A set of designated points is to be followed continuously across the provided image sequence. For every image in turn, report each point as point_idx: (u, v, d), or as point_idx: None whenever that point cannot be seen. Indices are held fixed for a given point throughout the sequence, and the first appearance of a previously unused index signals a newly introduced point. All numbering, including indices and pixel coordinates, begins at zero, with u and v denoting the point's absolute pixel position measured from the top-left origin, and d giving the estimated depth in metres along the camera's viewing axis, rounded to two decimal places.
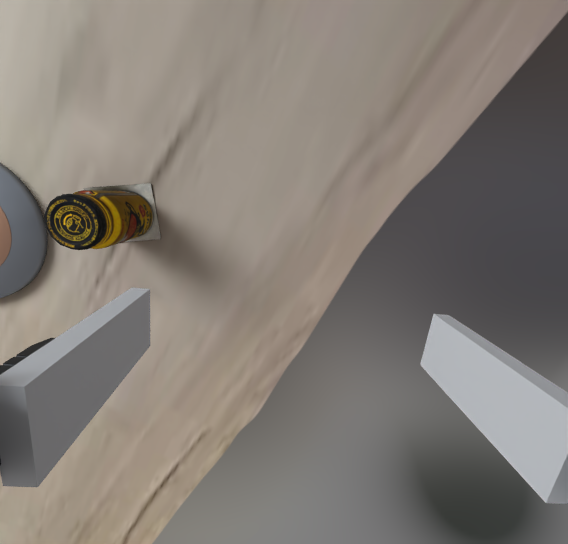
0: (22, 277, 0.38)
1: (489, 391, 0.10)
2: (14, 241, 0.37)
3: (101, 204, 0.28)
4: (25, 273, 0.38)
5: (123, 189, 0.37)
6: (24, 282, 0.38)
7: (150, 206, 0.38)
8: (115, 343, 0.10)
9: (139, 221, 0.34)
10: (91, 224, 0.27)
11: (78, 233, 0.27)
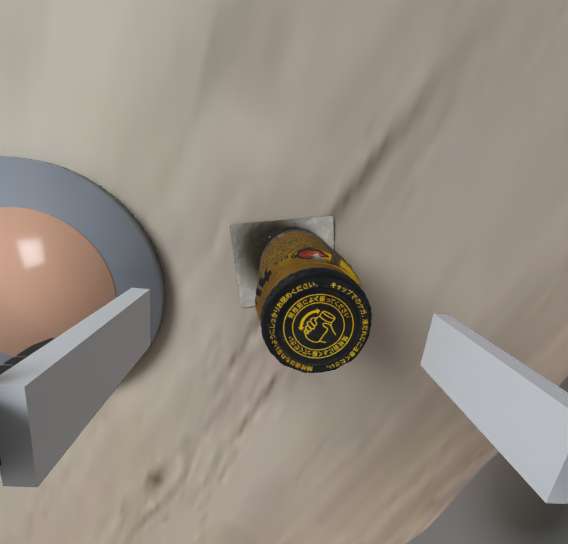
0: None
1: (489, 391, 0.10)
2: None
3: (354, 281, 0.14)
4: None
5: (289, 225, 0.23)
6: None
7: None
8: (115, 343, 0.10)
9: None
10: (354, 328, 0.13)
11: (324, 344, 0.13)
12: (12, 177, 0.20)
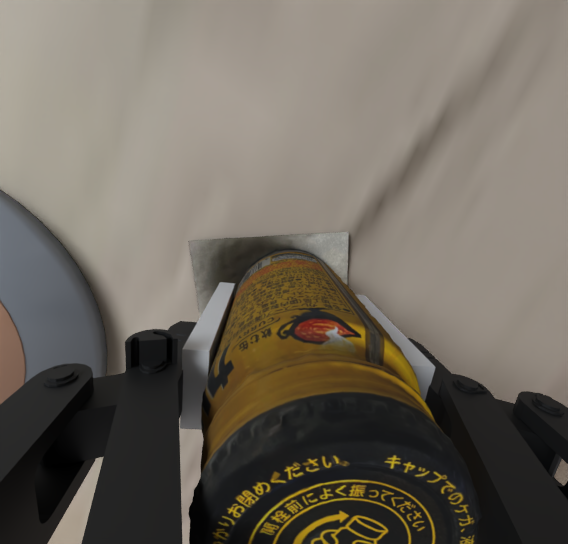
0: None
1: None
2: (33, 375, 0.15)
3: (423, 404, 0.06)
4: None
5: (281, 244, 0.15)
6: None
7: None
8: None
9: None
10: None
11: None
12: None
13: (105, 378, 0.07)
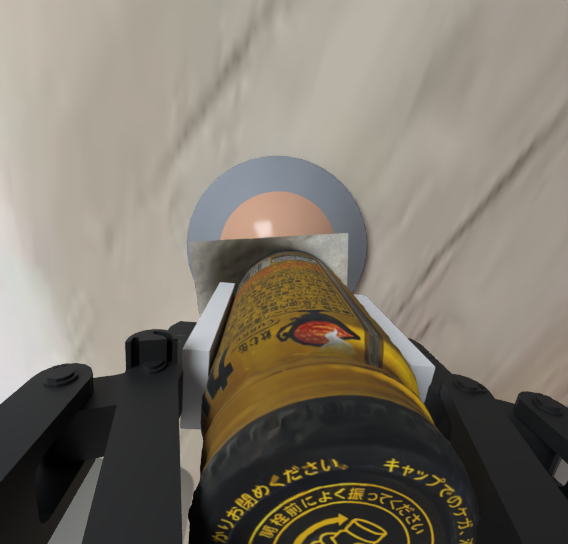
0: None
1: None
2: None
3: (422, 406, 0.06)
4: None
5: (281, 245, 0.15)
6: None
7: None
8: None
9: None
10: None
11: None
12: (284, 170, 0.29)
13: (105, 378, 0.07)
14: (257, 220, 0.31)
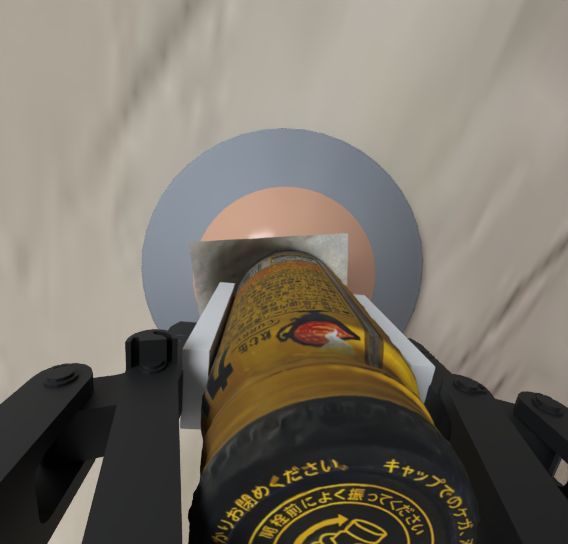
0: None
1: None
2: (375, 303, 0.21)
3: (422, 407, 0.06)
4: None
5: (281, 246, 0.15)
6: None
7: None
8: None
9: None
10: None
11: None
12: (295, 153, 0.18)
13: (105, 378, 0.07)
14: (252, 232, 0.19)
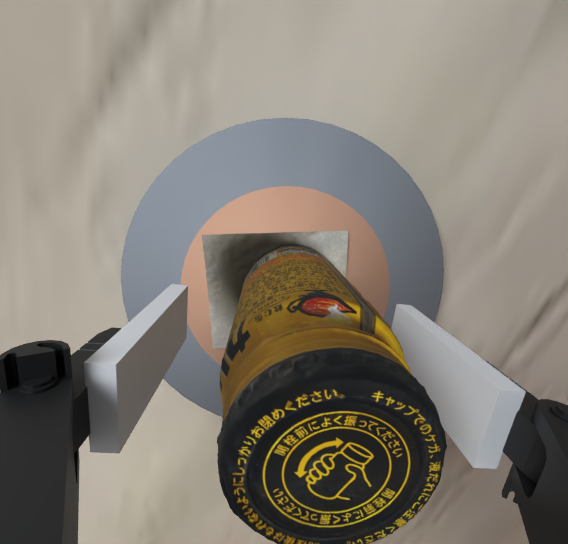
0: None
1: (436, 372, 0.11)
2: (388, 318, 0.19)
3: (406, 366, 0.07)
4: None
5: (286, 240, 0.17)
6: None
7: None
8: (166, 333, 0.11)
9: None
10: (410, 476, 0.06)
11: (345, 503, 0.06)
12: (298, 147, 0.16)
13: None
14: None
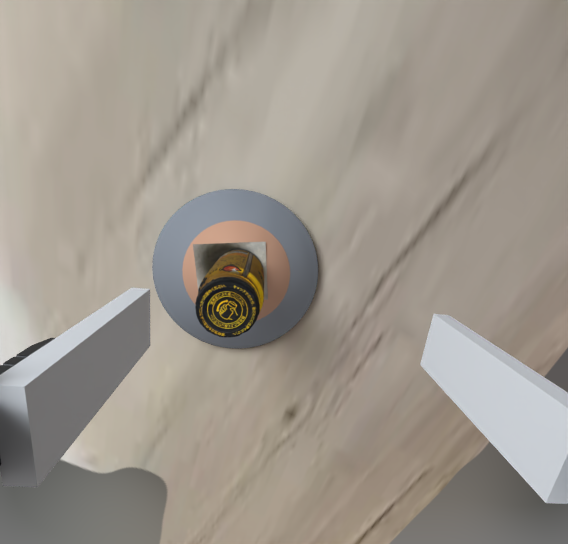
0: (290, 322, 0.37)
1: (489, 391, 0.10)
2: (291, 287, 0.35)
3: (253, 285, 0.24)
4: (294, 318, 0.37)
5: (235, 246, 0.34)
6: (291, 327, 0.37)
7: (262, 265, 0.34)
8: (115, 343, 0.10)
9: None
10: (248, 311, 0.23)
11: (231, 320, 0.23)
12: (239, 202, 0.33)
13: None
14: None
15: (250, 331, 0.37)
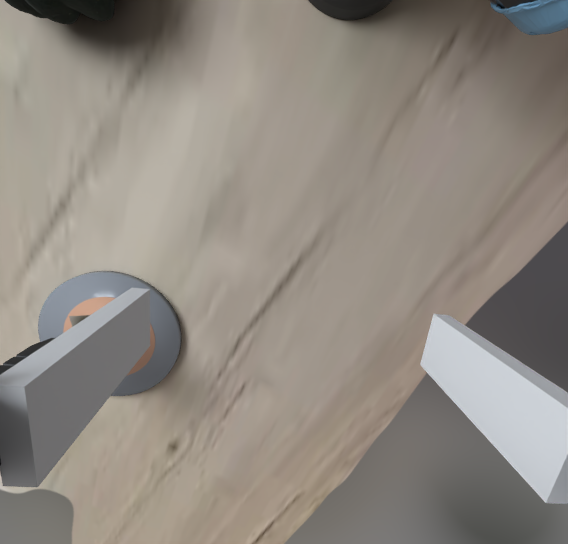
0: (160, 375, 0.44)
1: (489, 391, 0.10)
2: (157, 347, 0.43)
3: None
4: (163, 372, 0.44)
5: None
6: (161, 379, 0.44)
7: None
8: (115, 343, 0.10)
9: None
10: None
11: None
12: (105, 283, 0.40)
13: None
14: None
15: (126, 382, 0.44)
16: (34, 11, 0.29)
